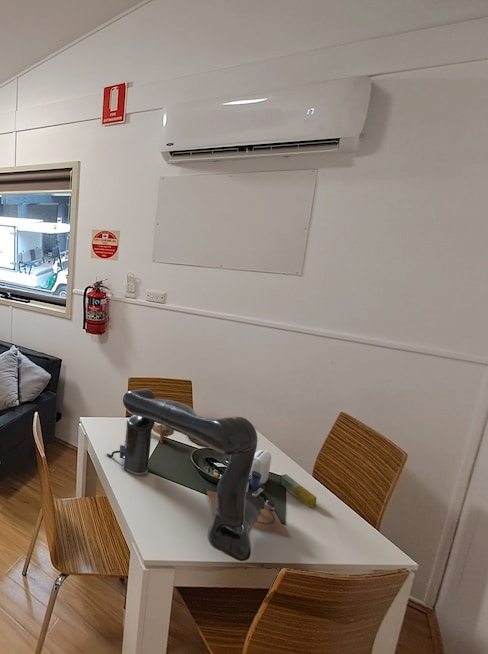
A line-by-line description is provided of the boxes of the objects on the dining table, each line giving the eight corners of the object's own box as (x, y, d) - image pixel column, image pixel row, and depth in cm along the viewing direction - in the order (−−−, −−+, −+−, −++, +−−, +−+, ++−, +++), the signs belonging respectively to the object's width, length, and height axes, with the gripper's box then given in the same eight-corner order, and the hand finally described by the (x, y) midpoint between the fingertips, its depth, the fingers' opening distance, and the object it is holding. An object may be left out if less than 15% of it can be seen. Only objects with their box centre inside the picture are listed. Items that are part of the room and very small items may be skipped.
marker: (248, 506, 127) (253, 475, 125) (246, 500, 130) (250, 470, 127) (257, 508, 126) (262, 477, 124) (254, 502, 129) (259, 471, 127)
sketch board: (216, 520, 124) (216, 519, 124) (204, 487, 139) (204, 486, 139) (287, 536, 118) (288, 534, 118) (267, 499, 133) (267, 498, 133)
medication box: (279, 484, 141) (279, 474, 140) (286, 483, 141) (286, 473, 140) (309, 508, 129) (310, 498, 128) (316, 507, 129) (317, 497, 129)
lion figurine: (174, 442, 166) (176, 423, 165) (170, 447, 163) (172, 428, 161) (142, 428, 177) (143, 410, 175) (137, 432, 173) (138, 415, 171)
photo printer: (256, 473, 147) (261, 445, 144) (269, 479, 143) (274, 450, 141) (244, 483, 141) (249, 454, 139) (257, 490, 138) (262, 460, 135)
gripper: (272, 512, 111) (283, 483, 123) (220, 487, 121) (234, 463, 133) (268, 533, 113) (279, 503, 125) (217, 507, 123) (231, 481, 134)
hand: (256, 482), depth 129 cm, fingers closed on marker, 2 cm apart
